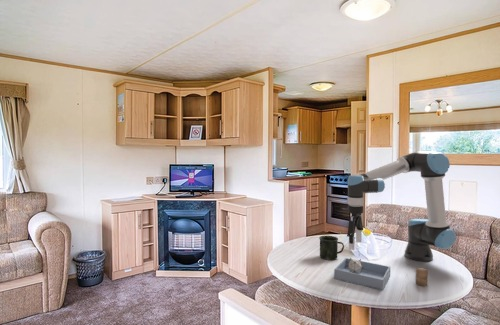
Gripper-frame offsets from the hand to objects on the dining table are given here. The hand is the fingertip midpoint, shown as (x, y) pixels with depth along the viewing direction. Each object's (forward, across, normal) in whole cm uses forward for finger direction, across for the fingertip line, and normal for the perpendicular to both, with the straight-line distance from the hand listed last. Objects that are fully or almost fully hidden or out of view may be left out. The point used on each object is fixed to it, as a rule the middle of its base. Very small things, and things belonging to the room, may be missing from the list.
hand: (355, 245), depth 160 cm
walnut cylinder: (+16, -8, +30) cm, 35 cm away
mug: (+16, -19, -19) cm, 31 cm away
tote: (+16, 0, +4) cm, 16 cm away
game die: (+16, 0, 0) cm, 16 cm away
